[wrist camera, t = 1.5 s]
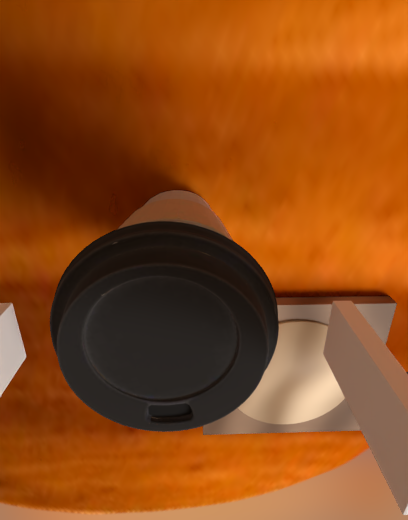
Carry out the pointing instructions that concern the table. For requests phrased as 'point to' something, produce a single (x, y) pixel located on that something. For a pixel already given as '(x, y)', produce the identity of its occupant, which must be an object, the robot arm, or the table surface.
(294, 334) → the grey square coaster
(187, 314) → the coffee cup
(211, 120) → the table surface
